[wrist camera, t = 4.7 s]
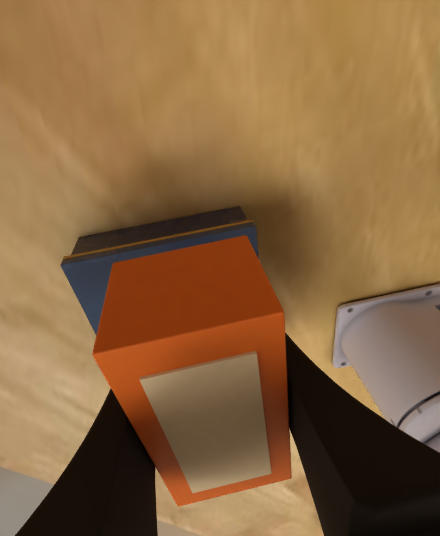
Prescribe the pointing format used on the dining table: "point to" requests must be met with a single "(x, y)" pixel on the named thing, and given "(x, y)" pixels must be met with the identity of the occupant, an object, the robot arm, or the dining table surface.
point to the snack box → (200, 366)
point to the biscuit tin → (144, 250)
